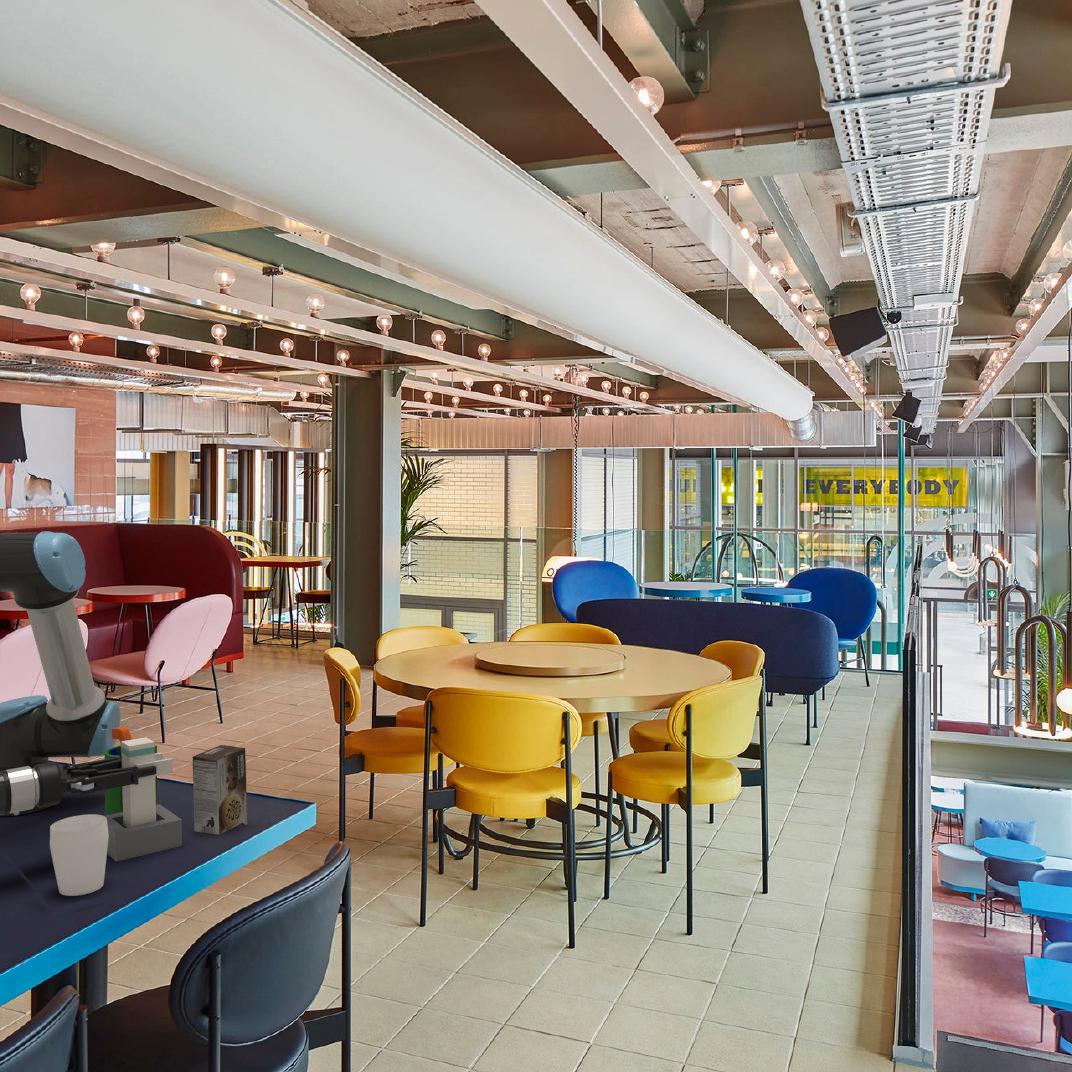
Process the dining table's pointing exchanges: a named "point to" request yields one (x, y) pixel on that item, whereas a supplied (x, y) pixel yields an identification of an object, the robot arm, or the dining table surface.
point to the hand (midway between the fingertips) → (166, 762)
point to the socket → (143, 835)
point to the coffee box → (219, 789)
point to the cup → (79, 853)
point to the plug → (142, 796)
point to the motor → (115, 794)
